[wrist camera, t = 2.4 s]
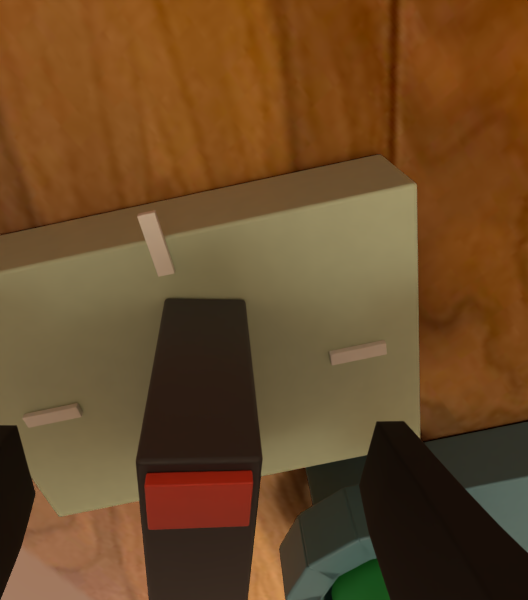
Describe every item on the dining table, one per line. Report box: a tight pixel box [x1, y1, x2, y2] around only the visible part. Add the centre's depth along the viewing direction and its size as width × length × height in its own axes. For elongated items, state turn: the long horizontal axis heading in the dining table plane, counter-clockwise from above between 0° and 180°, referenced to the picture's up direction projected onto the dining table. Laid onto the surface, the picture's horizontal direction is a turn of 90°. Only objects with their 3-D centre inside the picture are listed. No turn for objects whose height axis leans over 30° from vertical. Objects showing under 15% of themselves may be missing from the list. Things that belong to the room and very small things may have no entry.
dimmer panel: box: [0, 155, 420, 517], centre depth 13 cm, size 11×9×3 cm
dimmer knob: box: [136, 298, 263, 600], centre depth 10 cm, size 5×2×5 cm, turn 176°
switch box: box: [279, 422, 528, 600], centre depth 18 cm, size 17×13×4 cm
